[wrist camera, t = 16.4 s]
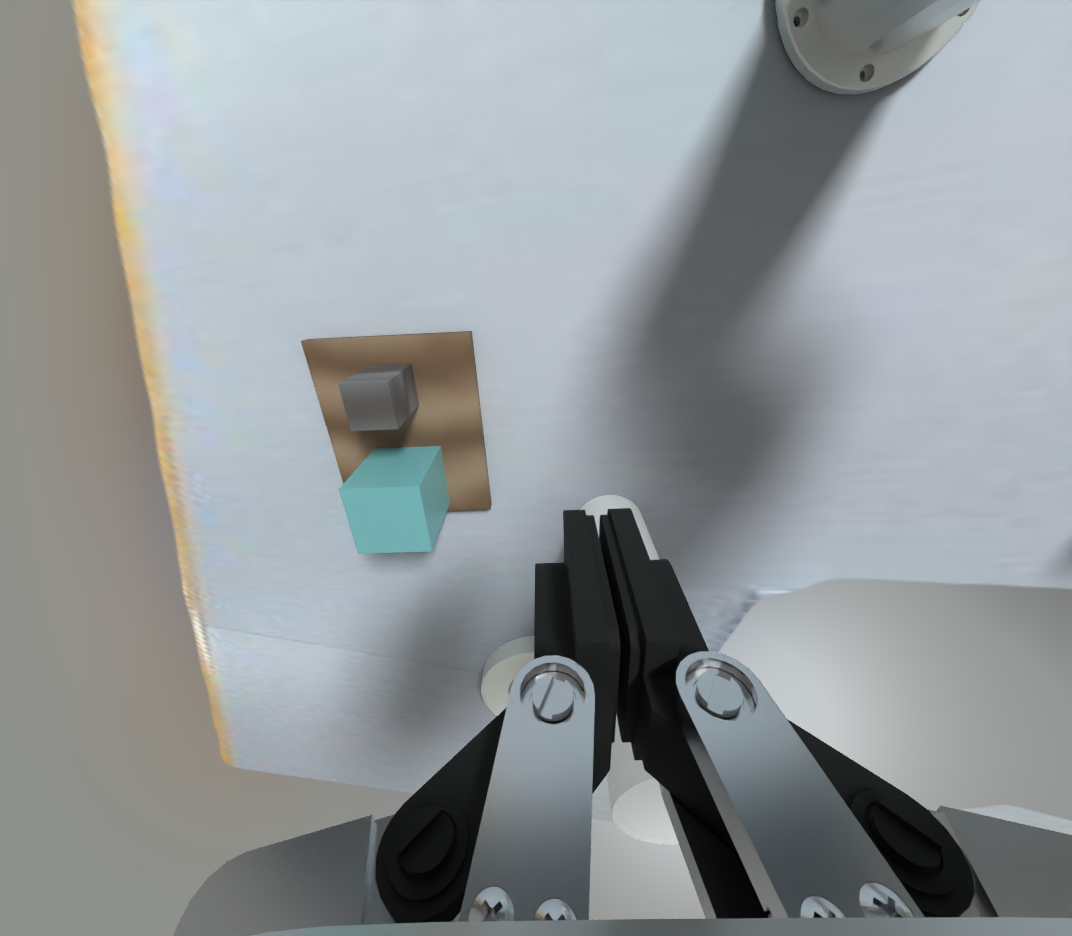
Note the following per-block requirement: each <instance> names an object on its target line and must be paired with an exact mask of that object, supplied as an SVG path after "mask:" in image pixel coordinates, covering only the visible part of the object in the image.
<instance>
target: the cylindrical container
mask: <svg viewBox="0 0 1072 936" xmlns="http://www.w3.org/2000/svg"><path fill="white" fill-rule="evenodd" d="M618 508H631V510H632V512H633V515H634V518H635V520H636V523H637V526H638V529H639V531H640V534H641V537H642V539H643V542H644V545H645V547H646V550H647V553H648V555H649V558H650V560H660V559H659V557H658V554H657V552H656V549H655V547H654V544H653V542H652V540H651V537H650V535H649V532H648V530H647V527H646V525H645V522H644V520H643V517H642V515H641V512H640V511H639V509H638V507H637V506H636V505H635V504H634V503H633V502H632V501H630V500H629V499H627V498H625V497H622V496H618V495H603V496H599V497H596V498H594V499H591V500H589V501H588V502H587V503H585V504H584V505H583V506H582V507H581V508H580V509H579V510H585V512H586V515H594V518H595V522H596V527H597V532H598V536H599V520H600V515H607V511H608V509H618ZM607 781H608V788H609V796H610V803H611V811H612V818H613V820H614V823H615V825H616V826H617V827H618V828H619V829H620V830H621V831H622V832H624V833H626V834H627V835H629V836H631V837H633V838H636V839H638V840H642V841H645V842H650V843H656V844H665V845H679V842H678V840H677V837H676V834H675V831H674V829H673V826H672V823H671V820H670V817H669V815H668V812H667V809H666V806H665V804H664V801H663V798H662V794H661V790H660V786H659V782H658V781H657V780H656V779H654V778H653V777H652V776H651V775H650V774H649V773H648V772H647V771H645V770H644V766H643V762H642V760H634V756H633V751H632V746H631V742H629V743H622V741H621V737H620V731H619V726H618V720H617V714H616V727H615V741H614V743H612V748H611V764H610V771H609V772H608V774H607Z"/></svg>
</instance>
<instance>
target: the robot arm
mask: <svg viewBox="0 0 1072 936" xmlns="http://www.w3.org/2000/svg"><path fill="white" fill-rule="evenodd" d="M980 1H981V0H775V7H776V14H777V21H778V29H779V32H780V35H781V38H782V41H783V45H784V48H785V51H786V52H787V54H788V56H789V58H790V59H791V61H792V63H793V65H794V66H795V68H796V69H797V70H798V71H799V72H800V73H801V74H802V75H803V76H804V77H805V78H806V79H807V81H809V82H810V83H812V84H814V85H815V86H817V87H819V88H820V89H822V90H825V91H829V92H832V93H836V94H862V93H866V92H870V91H874V90H878V89H880V88H882V87H885V86H887V85H889V84H891V83H893V82H895V81H898V80H899V79H901V78H903V77H905V76H906V75H908V74H910V73H912V72H913V71H915V70H917V69H918V68H920V67H921V66H922V65H923V64H925V63H926V62H927V61H928V60H930V59H931V58H932V57H934V56H935V55H936V54H937V53H938V52H939V51H940V50H941V49H942V48H943V47H944V46H945V45H946V44H947V43H948V42H949V41H950V40H951V39H952V38H953V37H954V36H955V35H956V34H957V33H958V31H959V30H960V29H961V28H962V26H963V25H964V24H965V23H966V21H967V20H968V19H969V17H970V16H971V15H972V13H973V12H974V10H975V9H976V7H977V6H978V4H979V2H980ZM794 21H795V22H796V26H795V25H794ZM563 520H564V563H541V564H536V565H535V632H534V659H533V660H532V661H530V662H529V663H527V664H526V665H524V666H523V667H522V669H521V670H520V671H519V672H518V673H517V675H516V676H515V679H514V681H513V684H512V686H511V690H510V695H509V699H508V704H507V707H506V708H505V709H504V710H503V711H502V712H501V713H500V714H499V715H498V716H497V717H496V718H495V719H494V720H493V721H491V722H490V723H489V724H488V725H487V726H486V727H485V728H484V729H483V730H482V731H481V732H480V733H479V734H478V735H477V736H475V737H474V738H473V739H472V740H471V741H470V742H469V743H468V744H467V745H466V746H465V747H464V748H463V749H462V750H461V751H459V752H458V753H457V754H456V755H455V756H454V757H453V758H452V759H451V760H450V761H449V762H448V763H447V764H446V765H445V766H444V767H442V768H441V769H440V770H439V771H438V772H437V773H436V774H435V775H434V776H433V777H432V778H431V779H430V780H429V781H428V782H426V783H425V784H424V785H423V786H422V787H421V788H420V789H419V790H418V791H417V792H416V793H415V794H414V795H413V796H412V797H410V798H409V800H407V801H406V802H405V803H404V804H403V805H402V807H401V808H400V809H399V810H398V811H397V812H396V814H394V815H391V816H387V817H384V818H381V819H377V820H374V818H373V816H372V815H370V816H366V817H363V818H360V819H356V820H353V821H349V822H346V823H343V824H340V825H336V826H332V827H329V828H326V829H322V830H319V831H316V832H312V833H309V834H305V835H302V836H299V837H295V838H292V839H288V840H285V841H282V842H278V843H275V844H271V845H268V846H265V847H261V848H258V849H255V850H251V851H248V852H245V853H243V854H241V855H239V856H237V857H235V858H233V859H231V860H229V861H227V862H226V863H225V864H224V865H223V866H221V867H220V868H219V869H218V870H217V871H215V872H214V873H213V874H212V875H211V876H210V877H208V878H207V880H206V881H205V882H204V884H203V885H202V886H201V887H200V889H199V890H198V891H197V892H196V893H195V895H194V896H193V897H192V899H191V900H190V902H189V904H188V906H187V908H186V910H185V912H184V914H183V915H182V917H181V919H180V921H179V923H178V926H177V928H176V931H175V933H174V936H1072V835H1068V834H1064V833H1059V832H1055V831H1050V830H1046V829H1041V828H1037V827H1033V826H1028V825H1024V824H1019V823H1015V822H1010V821H1006V820H1002V819H997V818H993V817H988V816H984V815H979V814H975V813H970V812H966V811H962V810H957V809H953V808H948V807H944V806H940V807H939V808H938V810H937V811H931V810H927V809H926V808H924V807H923V806H922V805H920V804H919V803H918V802H916V801H915V800H914V799H912V798H911V797H910V796H908V795H907V794H905V793H904V792H902V791H900V790H899V789H897V788H896V787H894V786H893V785H891V784H889V783H888V782H886V781H884V780H883V779H881V778H880V777H878V776H877V775H875V774H873V773H872V772H870V771H869V770H867V769H866V768H864V767H862V766H861V765H859V764H858V763H856V762H854V761H853V760H851V759H849V758H848V757H846V756H845V755H843V754H842V753H840V752H838V751H837V750H835V749H834V748H832V747H831V746H829V745H827V744H826V743H824V742H823V741H821V740H819V739H818V738H816V737H815V736H813V735H811V734H810V733H808V732H807V731H805V730H803V729H802V728H800V727H799V726H797V725H795V724H794V723H792V722H791V721H789V720H788V719H786V717H785V716H784V714H783V713H782V711H781V710H780V709H779V707H778V706H777V704H776V703H775V702H774V700H773V699H772V697H771V696H770V694H769V693H768V691H767V690H766V689H765V687H764V686H763V684H762V683H761V681H760V680H759V679H758V678H757V677H756V676H755V675H754V673H753V672H752V671H751V670H750V669H749V668H747V667H746V666H745V665H743V664H742V663H741V662H739V661H738V660H736V659H734V658H732V657H729V656H727V655H725V654H721V653H717V652H712V651H709V650H708V648H707V646H706V644H705V641H704V639H703V637H702V634H701V632H700V630H699V628H698V625H697V623H696V621H695V618H694V616H693V614H692V612H691V609H690V607H689V605H688V602H687V600H686V598H685V596H684V593H683V591H682V589H681V586H680V584H679V582H678V580H677V577H676V575H675V573H674V570H673V568H672V566H671V564H670V562H669V561H668V560H667V559H661V560H650V558H649V555H648V553H647V550H646V547H645V545H644V542H643V539H642V537H641V534H640V531H639V529H638V526H637V523H636V520H635V518H634V515H633V512H632V510H631V508H618V509H608V511H607V515H600V520H599V536H598V532H597V527H596V522H595V518H594V515H586V512H585V510H564V511H563ZM616 714H617V720H618V726H619V731H620V737H621V741H622V743H629V742H631V746H632V751H633V756H634V760H642V762H643V766H644V770H645V771H647V772H648V773H649V774H650V775H651V776H652V777H653V778H654V779H656V780H657V781H658V782H659V786H660V790H661V794H662V798H663V801H664V804H665V806H666V809H667V812H668V815H669V817H670V820H671V823H672V826H673V829H674V831H675V834H676V837H677V840H678V842H679V845H680V848H681V851H682V853H683V856H684V859H685V862H686V865H687V867H688V870H689V873H690V876H691V879H692V881H693V884H694V886H695V890H696V892H697V895H698V898H699V901H700V903H701V906H702V909H703V912H704V915H705V917H706V919H644V920H643V919H638V920H637V919H636V920H635V919H632V920H589V891H590V889H589V888H590V855H591V821H592V794H593V792H594V791H595V790H596V788H597V787H598V786H599V784H600V783H601V782H602V780H603V779H604V778H605V776H606V775H607V774H608V772H609V771H610V764H611V748H612V743H614V741H615V727H616Z"/></svg>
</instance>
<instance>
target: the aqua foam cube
mask: <svg viewBox="0 0 1072 936" xmlns="http://www.w3.org/2000/svg"><path fill="white" fill-rule="evenodd" d="M339 492H340V495H341V498H342V502H343V505H344V508H345V512H346V515H347V518H348V521H349V525H350V528H351V531H352V535H353V538H354V541H355V545H356V548H357V551H358V554H363V553H397V552H430V551H432V550H433V548H434V545H435V542H436V540H437V537H438V534H439V532H440V529H441V526H442V523H443V521H444V518H445V515H446V513H447V510H448V507H449V505H450V499H449V493H448V487H447V481H446V475H445V469H444V462H443V456H442V450H441V446H427V447H400V448H375V449H374V450H373V451H372V452H371V453H370V454H369V455H368V457H367V458H366V459H365V460H364V461H363V462H362V463H361V464H360V466H359V467H358V468H357V469H356V470H355V471H354V472H353V473H352V475H351V476H350V477H349V478H348V479H347V480H346V481H345V483H344V484H343V485H342V486H341V487H340V488H339Z"/></svg>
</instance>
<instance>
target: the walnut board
mask: <svg viewBox="0 0 1072 936" xmlns="http://www.w3.org/2000/svg"><path fill="white" fill-rule="evenodd" d="M301 343H302V346H303V350H304V353H305V356H306V360H307V363H308V366H309V370H310V373H311V376H312V380H313V383H314V386H315V390H316V393H317V396H318V400H319V403H320V406H321V410H322V413H323V416H324V420H325V423H326V426H327V430H328V433H329V436H330V440H331V443H332V446H333V450H334V453H335V456H336V460H337V463H338V466H339V470H340V473H341V476H342V480H343V483H345V481H346V480H347V479H348V478H349V477H350V476H351V475H352V473H353V472H354V471H355V470H356V469H357V468H358V467H359V466H360V464H361V463H362V462H363V461H364V460H365V459H366V458H367V457H368V455H369V454H370V453H371V452H372V451H373V450H374V449H375V448H400V447H427V446H441V450H442V456H443V462H444V469H445V475H446V481H447V487H448V493H449V499H450V505H449V507H448V510H447V511H458V510H485V509H491V496H490V487H489V478H488V470H487V461H486V452H485V443H484V435H483V426H482V417H481V408H480V400H479V391H478V382H477V374H476V365H475V356H474V347H473V339H472V331H464V332H444V333H424V334H404V335H383V336H363V337H343V338H323V339H306V340H303V341H301Z"/></svg>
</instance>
